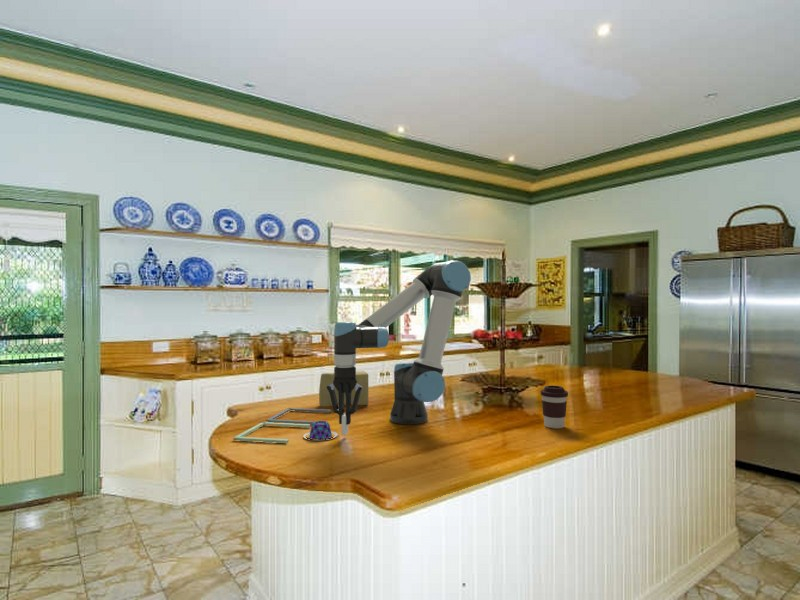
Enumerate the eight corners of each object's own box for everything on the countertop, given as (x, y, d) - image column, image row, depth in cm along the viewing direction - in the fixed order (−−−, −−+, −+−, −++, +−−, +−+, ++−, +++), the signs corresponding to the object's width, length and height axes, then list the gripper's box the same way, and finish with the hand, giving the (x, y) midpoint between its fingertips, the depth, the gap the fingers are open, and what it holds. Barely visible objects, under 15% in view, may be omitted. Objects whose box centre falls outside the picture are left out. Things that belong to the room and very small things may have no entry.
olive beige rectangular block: (320, 408, 207) (320, 375, 207) (318, 404, 216) (318, 371, 216) (369, 405, 213) (369, 372, 213) (365, 401, 222) (364, 369, 222)
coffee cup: (569, 424, 179) (569, 385, 179) (566, 431, 170) (566, 390, 170) (542, 421, 183) (542, 383, 183) (538, 428, 174) (538, 388, 174)
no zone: (331, 412, 199) (331, 409, 199) (313, 425, 179) (313, 422, 179) (288, 410, 203) (288, 407, 203) (266, 423, 182) (266, 420, 182)
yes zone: (310, 427, 176) (310, 424, 176) (286, 444, 155) (286, 440, 155) (262, 425, 179) (262, 421, 179) (233, 441, 159) (233, 437, 159)
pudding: (302, 443, 157) (302, 427, 157) (304, 433, 169) (304, 419, 169) (338, 441, 159) (338, 426, 159) (337, 431, 171) (337, 417, 171)
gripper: (365, 365, 165) (365, 431, 165) (330, 364, 167) (330, 429, 167) (360, 368, 157) (360, 437, 157) (323, 366, 160) (323, 435, 160)
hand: (344, 433), depth 162 cm, fingers closed
